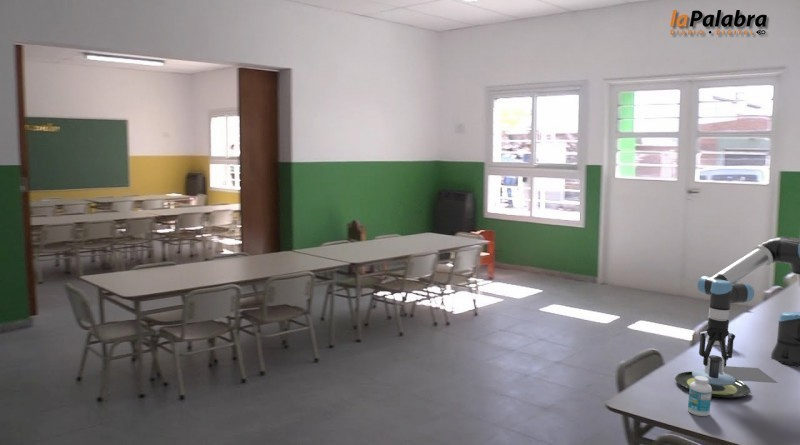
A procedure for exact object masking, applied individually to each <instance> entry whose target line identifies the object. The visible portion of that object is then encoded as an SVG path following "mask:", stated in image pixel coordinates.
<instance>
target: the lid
mask: <svg viewBox="0 0 800 445" xmlns="http://www.w3.org/2000/svg"><path fill="white" fill-rule="evenodd" d="M709 358H710V369H709V374H706V373H705V369H695V370H692V371H691V372H692V376H693V377H694V378H695V376H703V377H706V378H708V379H709V381H708V384H709V385H713V386H721V385H722V386H721V387H723V386H727V385H733V384H734V383H735V378H734V377H732V376H731V375H728V374H726V373H724V372H723V375H721V374H719V365H720V361H722V356H719V355H713V354H712V355H711V354H710V355H709Z"/></svg>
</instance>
